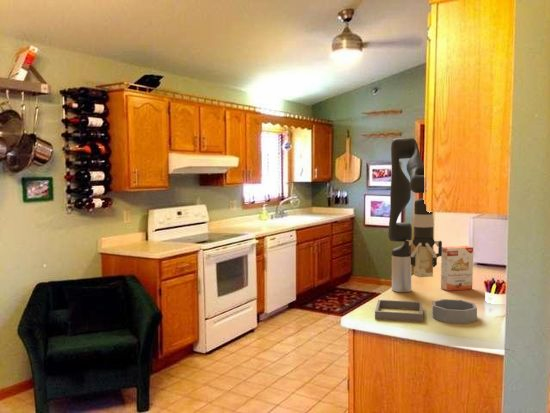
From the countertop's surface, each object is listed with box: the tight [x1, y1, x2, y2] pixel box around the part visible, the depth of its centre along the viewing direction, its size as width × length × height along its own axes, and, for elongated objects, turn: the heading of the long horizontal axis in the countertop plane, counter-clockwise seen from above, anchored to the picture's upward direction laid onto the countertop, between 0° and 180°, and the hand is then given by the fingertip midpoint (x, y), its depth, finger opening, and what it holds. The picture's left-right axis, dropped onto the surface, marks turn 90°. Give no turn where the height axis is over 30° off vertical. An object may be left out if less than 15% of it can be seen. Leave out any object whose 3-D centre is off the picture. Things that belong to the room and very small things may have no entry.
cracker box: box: [440, 245, 474, 292], centre depth 231 cm, size 14×6×21 cm, turn 101°
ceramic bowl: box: [431, 298, 478, 325], centre depth 187 cm, size 16×16×5 cm
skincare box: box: [413, 245, 434, 278], centre depth 189 cm, size 6×4×12 cm
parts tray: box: [374, 299, 424, 323], centre depth 193 cm, size 18×18×3 cm
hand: (423, 266), depth 189 cm, fingers closed on skincare box, 7 cm apart
